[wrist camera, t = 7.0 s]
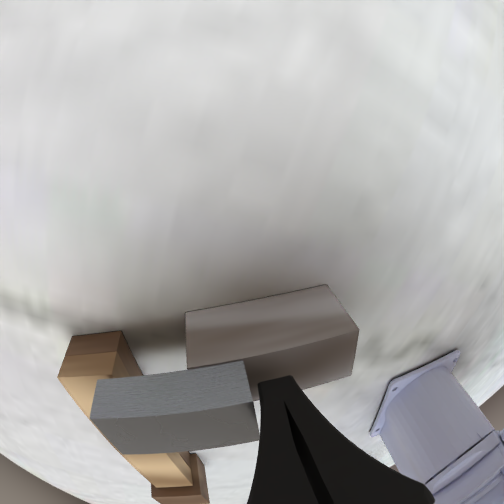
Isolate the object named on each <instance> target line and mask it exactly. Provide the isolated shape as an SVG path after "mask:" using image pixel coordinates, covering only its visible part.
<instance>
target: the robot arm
mask: <svg viewBox="0 0 504 504" xmlns="http://www.w3.org/2000/svg"><path fill="white" fill-rule="evenodd" d="M460 353H461V352H460V351H459V350H456V351H454V352H452V353H450V354H448V355H446V356H444V357H442V358H440V359H438V360H436V361H434V362H432V363H430V364H428V365H425V366H423V367H421V368H419V369H417V370H415V371H412V372H410V373H408V374H405V375H403V376H401V377H398V378H396V379H394V380H393V381H391V382H390V384H389V387H388V389H387V392H386V395H385V397H384V400H383V403H382V405H381V408H380V410H379V413H378V415H377V418H376V420H375V423H374V425H373V427H372V430H371V432H370V436H371V437H374V436H377V435H379V434H380V436H381V438H382V440H383V442H384V444H385V445H386V447H387V449H388V451H389V453H390V455H391V457H392V458H393V460H394V462H395V464H396V466H397V468H398V470H399V472H400V473H398V472H396V471H395V470H393V469H391V468H389V467H387V466H386V465H384V464H382V463H381V462H379V461H378V460H376V459H374V458H373V457H371V456H370V455H368V454H367V453H365V452H364V451H363V450H361V449H360V448H358V447H357V446H356V445H355V444H353V443H352V442H351V441H350V440H348V439H347V438H346V437H345V436H344V435H343V434H341V433H340V432H339V431H338V430H337V429H336V428H335V427H334V426H333V425H332V424H331V423H330V422H329V421H328V420H327V419H326V418H325V417H324V416H323V415H322V414H321V413H320V412H319V410H318V409H317V408H316V407H315V406H314V405H313V404H312V402H311V401H310V400H309V399H308V397H307V396H306V395H305V394H304V392H303V391H302V390H301V388H300V387H299V385H298V384H297V382H296V381H295V379H294V378H293V376H291V375H288V376H284V377H280V378H276V379H271V380H267V381H262V382H259V383H258V384H257V386H258V393H259V399H260V406H261V426H260V440H259V450H258V457H257V463H256V469H255V474H254V479H253V483H252V487H251V491H250V495H249V499H248V502H247V504H504V429H503V430H502V431H501V432H500V431H495V429H494V428H493V426H492V425H491V423H490V422H489V421H488V419H487V418H486V417H485V416H484V414H483V413H482V411H481V410H480V409H479V407H478V406H477V405H476V404H475V402H474V401H473V400H472V398H471V397H470V396H469V395H468V393H467V392H466V391H465V389H464V388H463V387H462V386H461V384H460V383H459V382H458V381H457V379H456V378H455V377H454V376H453V375H452V371H453V369H454V367H455V365H456V362H457V360H458V358H459V356H460Z"/></svg>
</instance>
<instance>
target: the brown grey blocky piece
mask: <svg viewBox="0 0 504 504" xmlns="http://www.w3.org/2000/svg"><path fill="white" fill-rule="evenodd" d="M185 316H186V356H187V369H188V370H190V369H197V368H203V367H209V366H215V365H221V364H226V363H231V362H237V361H242V360H243V362H244V367H245V371H246V375H247V379H248V383H249V387H250V391H251V395H252V399H253V401H257V400H260V399H259V393H258V386H257V384H258V383H259V382H262V381H267V380H271V379H276V378H280V377H284V376H288V375H291V376H293V378H294V379H295V381H296V382H297V384H298V385H299V387H300V388H301V390H303V389H307V388H311V387H314V386H318V385H321V384H325V383H328V382H331V381H335V380H338V379H341V378H344V377H347V376H350V375H351V374H352V369H353V364H354V358H355V353H356V347H357V341H358V335H359V328H358V327H357V325H356V324H355V323H354V321H353V320H352V318H351V317H350V316H349V314H348V313H347V312H346V310H345V309H344V307H343V306H342V305H341V303H340V302H339V301H338V299H337V298H336V297H335V295H334V294H333V292H332V291H331V290H330V288H329V287H328V286H327V285H322V286H318V287H313V288H309V289H304V290H300V291H295V292H290V293H286V294H281V295H276V296H271V297H266V298H261V299H256V300H251V301H246V302H241V303H235V304H230V305H225V306H219V307H214V308H208V309H203V310H197V311H191V312H185ZM115 351H117V353H118V355H119V357H120V358H121V360H122V362H123V364H124V366H125V368H126V370H127V372H128V373H129V375H130V377H134V376H143V374H142V373H141V371H140V369H139V367H138V365H137V363H136V361H135V359H134V357H133V355H132V353H131V351H130V348H129V346H128V344H127V342H126V340H125V338H124V336H123V334H122V331H114V332H107V333H98V334H90V335H81V336H72V338H71V341H70V343H69V346H68V349H67V351H66V354H65V356H73V355H85V354H96V353H106V352H115ZM178 453H179V454H180V456H181V457H182V458H183V460H184V461H185V462H186V464H187V465H188V466H189V468H190V469H191V472H192V481H193V486H181V487H158V488H156V487H155V486H154V485H153V484H152V483H151V493H152V498H154V499H155V500H156V501H158V502H159V503H161V504H210V502H209V495H208V488H207V481H206V474H205V467H204V465H203V463H202V462H201V460H200V459H199V457H198V456H197V454H190V453H189V452H188V451H185V452H178Z"/></svg>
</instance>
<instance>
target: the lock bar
mask: <svg viewBox="0 0 504 504" xmlns="http://www.w3.org/2000/svg"><path fill="white" fill-rule="evenodd" d="M89 419H90V420H91V421H92V422H93V423H94V425H95V426H96V427H97V428H98V429H99V430H100V431H101V432H102V434H103V435H104V436H105V437H106V438H107V439H108V440H109V441H110V442H111V443H112V444H113V445H114V446H115V447H116V448H117V450H118V451H119V452H120V453H121V454H122V455H132V454H159V453H174V452H185V451H195V450H203V449H211V448H218V447H225V446H231V445H237V444H242V443H248V442H253V441H258V440H260V434H259V429H258V424H257V419H256V414H255V409H254V403H253V399H252V395H251V391H250V387H249V383H248V379H247V375H246V371H245V367H244V362H243V360H242V361H237V362H231V363H226V364H221V365H215V366H209V367H203V368H197V369H190V370H183V371H176V372H169V373H161V374H153V375H144V376H134V377H123V378H111V379H97V383H96V388H95V392H94V397H93V402H92V407H91V413H90V418H89Z"/></svg>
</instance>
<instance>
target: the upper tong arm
mask: <svg viewBox="0 0 504 504" xmlns="http://www.w3.org/2000/svg"><path fill="white" fill-rule="evenodd" d="M123 377H130V375H129V373H128V372H127V370H126V368H125V366H124V364H123V362H122V360H121V358H120V357H119V355H118V353H117V351H115V352H106V353H96V354H85V355H73V356H65V357H64V360H63V363H62V366H61V368H60V371H59V374H58V377H57V378H58V379H59V381H60V382H61V383H62V385H63V386H64V388H65V389H66V390H67V392H68V393H69V394H70V396H71V397H72V398H73V400H74V401H75V402H76V404H77V405H78V406H79V407H80V409H81V410H82V411H83V412H84V414H85V415H86V416H87V417H88V419H89V418H90V413H91V407H92V402H93V397H94V392H95V388H96V383H97V379H111V378H123ZM89 420H90V419H89ZM90 421H91V420H90ZM91 422H92V421H91ZM92 423H93V422H92ZM93 424H94V423H93ZM94 426H95V425H94ZM95 427H96V426H95ZM96 428H97V427H96ZM97 429H98V428H97ZM98 430H99V429H98ZM99 431H100V430H99ZM100 433H101V434H102V432H101V431H100ZM102 435H103V434H102ZM103 436H104V435H103ZM104 437H105V436H104ZM105 438H106V437H105ZM106 439H107V438H106ZM107 440H108V439H107ZM108 441H109V440H108ZM109 442H110V441H109ZM110 444H111V445H112V446H113V447H114V448H115V449H116V450H117V448H116V447H115V446H114V445H113V444H112V443H111V442H110ZM117 451H118V450H117ZM118 452H119V451H118ZM119 453H120V452H119ZM120 454H121V453H120ZM121 455H122V454H121ZM122 456H123V457H124V458H125V459H126V460H127V461H128V462H129V463H130V464H131V465H132V466H133V467H134V468H135V469H136V470H137V471H138V472H139V473H141V474H142V475H143V476H144V477H145V478H146V479H147V480H148V481H149V482H150V483H152V484H153V485H154V486H155V487H156V488H158V487H181V486H193V481H192V472H191V469H190V468H189V466H188V465H187V464H186V462H185V461H184V460H183V458H182V457H181V456H180V454H179V453H178V452H174V453H159V454H132V455H122Z"/></svg>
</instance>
